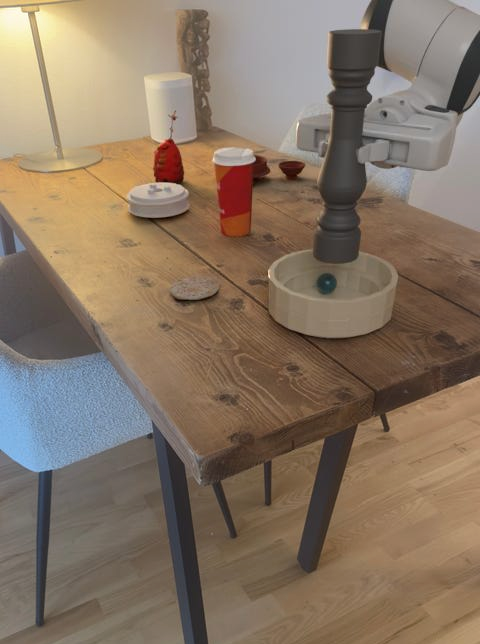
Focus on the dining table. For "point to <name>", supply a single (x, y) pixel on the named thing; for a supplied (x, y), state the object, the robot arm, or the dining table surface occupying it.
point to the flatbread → (194, 288)
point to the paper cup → (234, 189)
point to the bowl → (331, 295)
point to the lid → (158, 200)
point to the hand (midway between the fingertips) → (339, 153)
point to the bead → (326, 283)
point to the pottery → (287, 167)
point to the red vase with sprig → (168, 161)
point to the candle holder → (345, 143)
